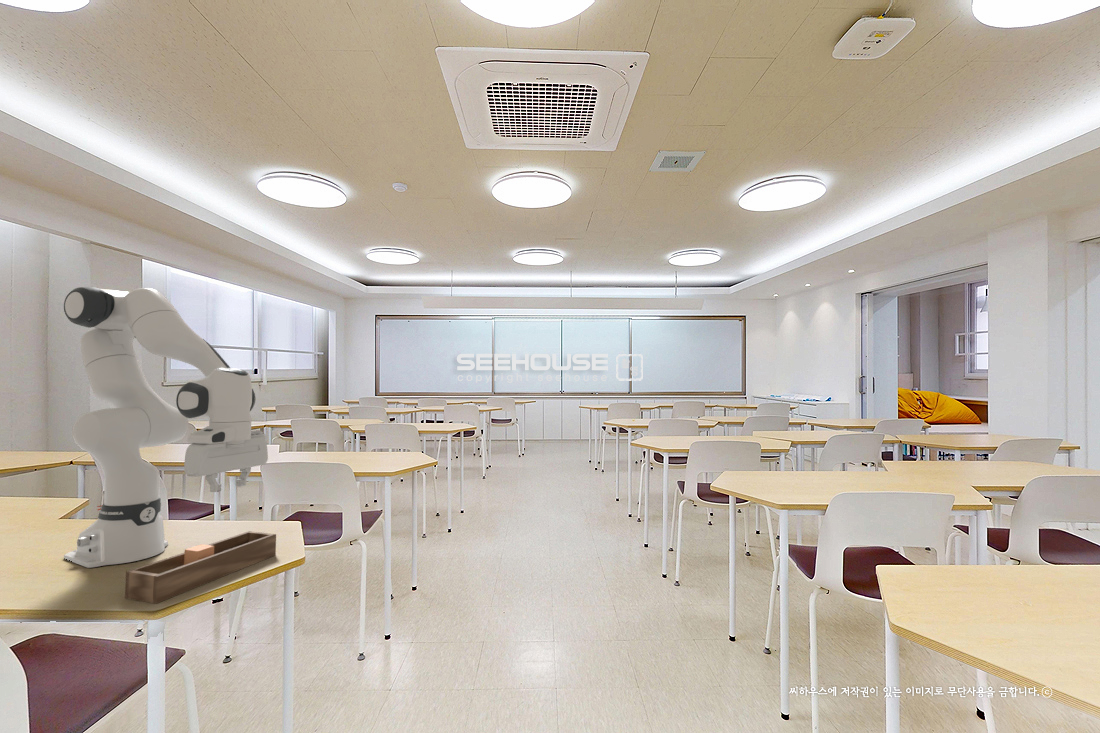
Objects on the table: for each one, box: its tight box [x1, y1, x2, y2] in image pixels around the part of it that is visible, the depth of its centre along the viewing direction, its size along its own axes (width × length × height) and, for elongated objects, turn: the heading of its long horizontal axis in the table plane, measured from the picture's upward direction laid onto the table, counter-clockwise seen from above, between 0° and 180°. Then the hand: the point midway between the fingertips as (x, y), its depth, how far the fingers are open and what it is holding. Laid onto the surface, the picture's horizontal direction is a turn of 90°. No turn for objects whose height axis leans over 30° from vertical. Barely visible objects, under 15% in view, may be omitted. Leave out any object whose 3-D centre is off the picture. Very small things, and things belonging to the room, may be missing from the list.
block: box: [184, 544, 214, 565], centre depth 114 cm, size 4×4×4 cm
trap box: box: [124, 530, 277, 604], centre depth 116 cm, size 9×30×6 cm, turn 164°
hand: (228, 488), depth 121 cm, fingers open, 5 cm apart
